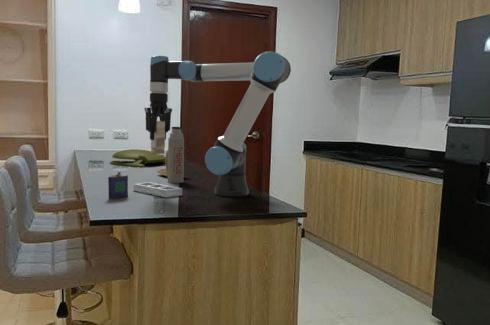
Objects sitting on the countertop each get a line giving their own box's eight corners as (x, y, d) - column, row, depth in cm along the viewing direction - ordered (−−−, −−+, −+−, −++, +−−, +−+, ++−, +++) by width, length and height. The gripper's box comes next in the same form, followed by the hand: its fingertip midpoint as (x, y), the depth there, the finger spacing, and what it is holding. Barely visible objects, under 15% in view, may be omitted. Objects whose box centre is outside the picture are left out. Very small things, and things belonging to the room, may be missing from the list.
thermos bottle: (184, 182, 234) (185, 127, 231) (168, 182, 232) (169, 126, 229) (182, 180, 242) (183, 126, 239) (166, 180, 240) (167, 126, 237)
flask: (125, 195, 194) (125, 170, 192) (129, 196, 192) (130, 171, 191) (106, 198, 186) (107, 172, 185) (111, 199, 184) (111, 172, 183)
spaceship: (173, 165, 314) (173, 150, 313) (140, 168, 288) (140, 153, 287) (136, 160, 332) (136, 147, 331) (102, 163, 306) (102, 149, 305)
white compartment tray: (182, 195, 199) (182, 188, 199) (165, 197, 192) (166, 190, 192) (149, 188, 213) (149, 182, 213) (133, 190, 206) (133, 183, 206)
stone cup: (186, 178, 252) (187, 150, 250) (165, 178, 246) (166, 150, 244) (176, 174, 265) (176, 148, 263) (156, 175, 259) (156, 148, 258)
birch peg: (164, 153, 201) (164, 121, 200) (157, 154, 198) (157, 121, 197) (158, 152, 204) (158, 120, 202) (151, 153, 201) (151, 120, 199)
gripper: (168, 93, 207) (167, 146, 210) (137, 91, 194) (136, 147, 197) (179, 94, 202) (178, 147, 205) (148, 91, 189) (147, 148, 192)
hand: (157, 147), depth 201 cm, fingers closed on birch peg, 4 cm apart
